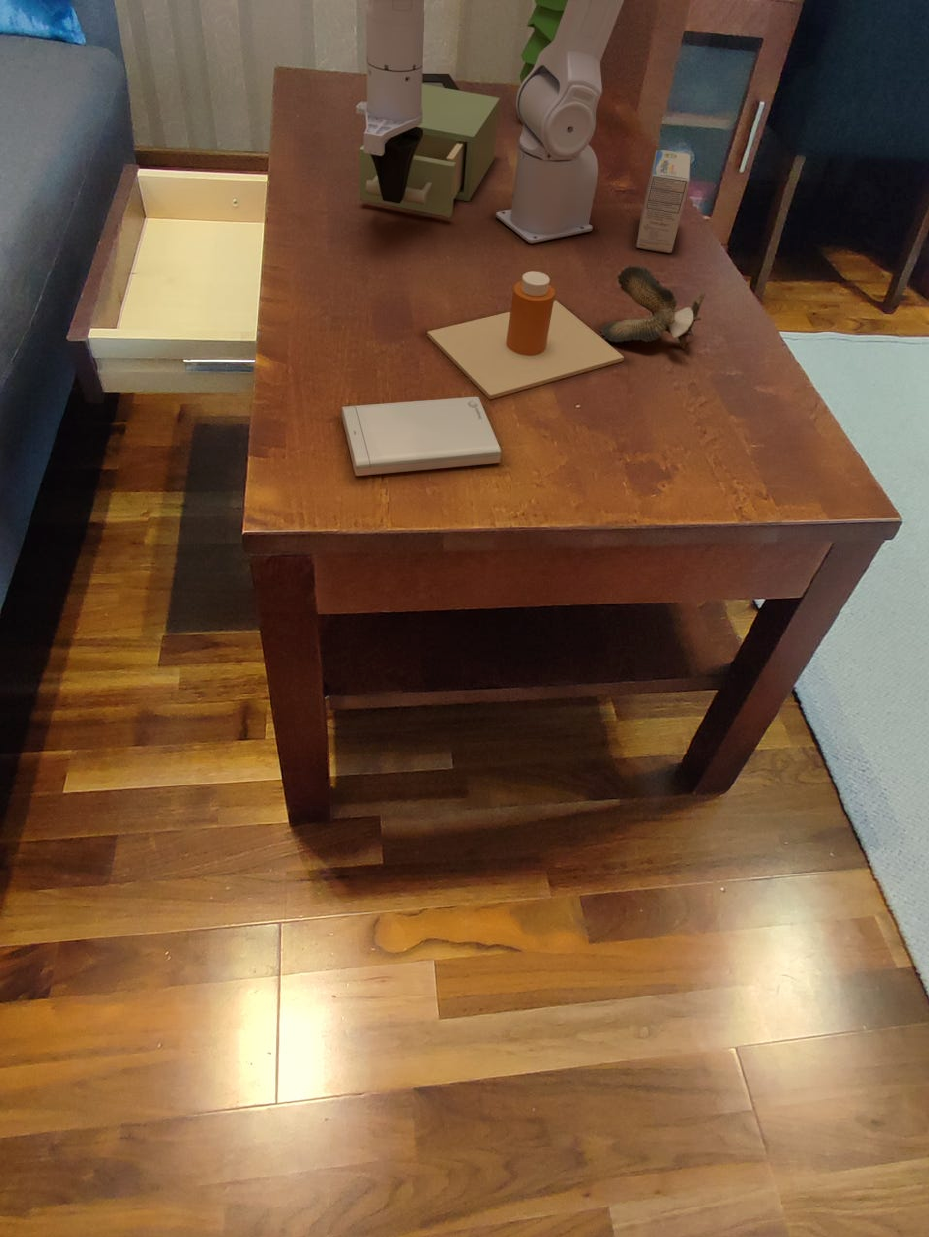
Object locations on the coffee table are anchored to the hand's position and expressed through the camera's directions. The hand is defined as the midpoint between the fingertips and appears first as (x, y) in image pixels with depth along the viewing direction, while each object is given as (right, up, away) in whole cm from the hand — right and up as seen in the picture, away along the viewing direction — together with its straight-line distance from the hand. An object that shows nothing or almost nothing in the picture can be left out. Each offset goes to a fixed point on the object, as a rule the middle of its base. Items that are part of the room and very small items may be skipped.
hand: (392, 199), depth 95 cm
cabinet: (+4, +12, +16) cm, 20 cm away
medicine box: (+32, -1, +8) cm, 33 cm away
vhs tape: (+4, +30, +32) cm, 44 cm away
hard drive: (+4, -32, -22) cm, 40 cm away
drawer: (+2, +5, +8) cm, 10 cm away
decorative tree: (+20, +27, +31) cm, 46 cm away
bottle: (+14, -20, -11) cm, 27 cm away
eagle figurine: (+27, -19, -8) cm, 34 cm away
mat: (+14, -21, -11) cm, 27 cm away
